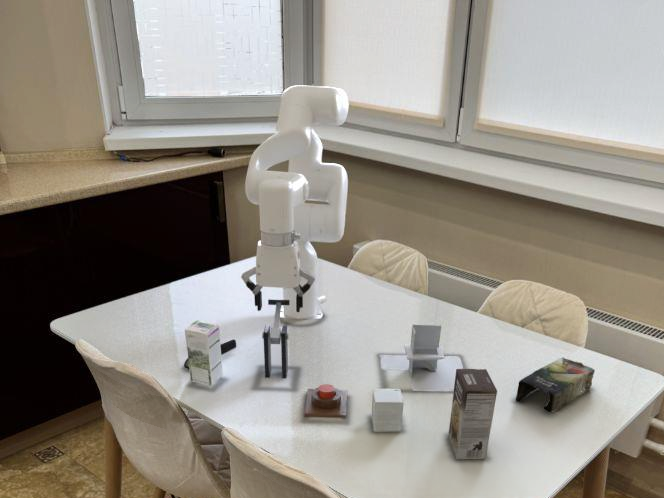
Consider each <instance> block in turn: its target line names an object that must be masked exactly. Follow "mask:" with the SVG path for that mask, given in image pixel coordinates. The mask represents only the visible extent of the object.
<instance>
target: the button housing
mask: <svg viewBox="0 0 664 498" xmlns="http://www.w3.org/2000/svg"><path fill="white" fill-rule="evenodd" d="M318 388H319V387H315V388H307V392H306V398H305V404H304V405H305V406H304V412H303V416H304V417H306V418H330V419H331V418H333V419H346V418H347V408H348V407H347V405H348V404H347V403H348V389H339V388H336V387H334V388H335V396H334V397H333V398H321V397H319V396H318Z"/></svg>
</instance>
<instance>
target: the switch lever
mask: <svg viewBox="0 0 664 498" xmlns="http://www.w3.org/2000/svg"><path fill="white" fill-rule="evenodd" d="M267 305H268V306H275V313H274V322H273V327H270V344H271V345H281V331H282V328H280V322H281V317H280V313H281V309H282V306H283V305H287V306H289V305H290V300H283V299H278V298H277V299H275V298H274V299H273V298H268V300H267Z"/></svg>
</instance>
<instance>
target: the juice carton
mask: <svg viewBox="0 0 664 498" xmlns="http://www.w3.org/2000/svg"><path fill="white" fill-rule="evenodd" d="M594 374H595V369H594V368H593V367H591V366H588V365H584V364H583V363H582V362H580V361H579V362H578V361H574V360H572V359H569V358H566V357H563V356H561V357H560V358H557V359H556V360H554V361H552V362H550V363H548V364H546V365H544V366H542V367H540V368H538V369H536V370H535V371H533V372H532V373H530V374H528V375H526V376H525V377H522V379H520V380H519V381H518V385H517V391H516V396H515V401H516V402H518V403H521V401H522V400H523V399H524V398H526V397H527V396H529V394H531V393H532V392H534V391H537V390H538V389H539V390H538V391H540V392H543V393H545V394H548V399H549V400H548V401H547V404H546V405H544V406H543V408H542V410H543V411H546V412H547V413H549V414H552V413H553V412H554V413H555V412H556V411H557V410H560V409H561V408H562V407H566V405H568V404H570V402H573V401H574V400H575V399H576V398H577V397H579V396H581V395H583V394H585V393H586V392H587V391H588V390H590V389H591V387H592V386H593V385H592V384H593V378H594ZM584 389H585V390H584ZM581 391H582V392H581Z"/></svg>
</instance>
